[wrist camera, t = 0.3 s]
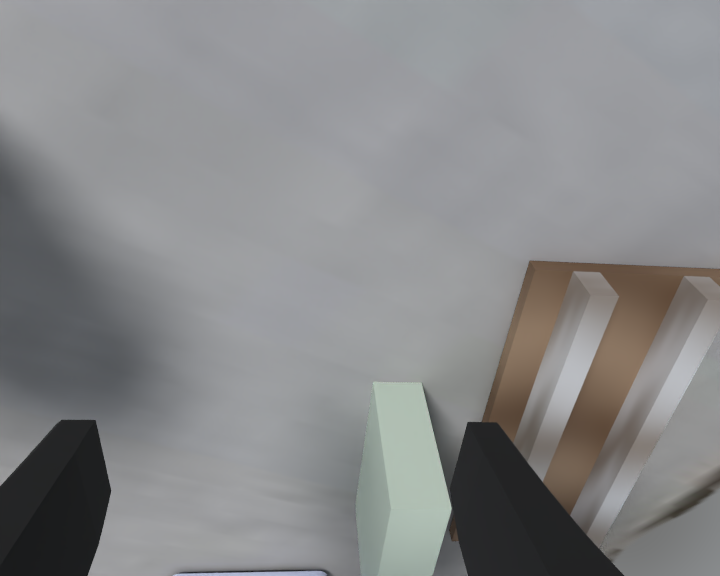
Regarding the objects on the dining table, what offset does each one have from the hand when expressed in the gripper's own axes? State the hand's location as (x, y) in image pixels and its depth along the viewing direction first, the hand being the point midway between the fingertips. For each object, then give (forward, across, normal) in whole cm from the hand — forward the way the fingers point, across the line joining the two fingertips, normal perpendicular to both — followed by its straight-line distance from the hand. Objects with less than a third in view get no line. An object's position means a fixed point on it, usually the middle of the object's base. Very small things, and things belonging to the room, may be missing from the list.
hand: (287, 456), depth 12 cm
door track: (+10, -12, +9) cm, 18 cm away
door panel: (+10, -4, +11) cm, 15 cm away
